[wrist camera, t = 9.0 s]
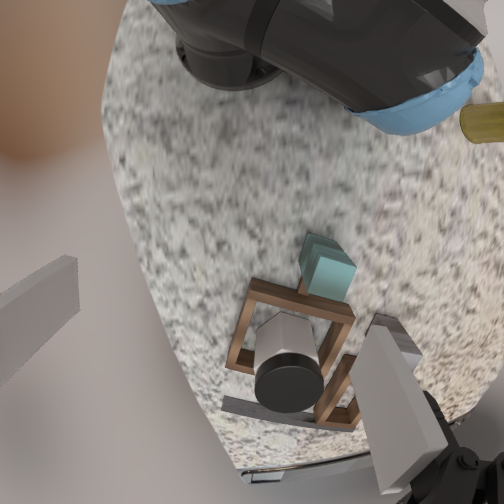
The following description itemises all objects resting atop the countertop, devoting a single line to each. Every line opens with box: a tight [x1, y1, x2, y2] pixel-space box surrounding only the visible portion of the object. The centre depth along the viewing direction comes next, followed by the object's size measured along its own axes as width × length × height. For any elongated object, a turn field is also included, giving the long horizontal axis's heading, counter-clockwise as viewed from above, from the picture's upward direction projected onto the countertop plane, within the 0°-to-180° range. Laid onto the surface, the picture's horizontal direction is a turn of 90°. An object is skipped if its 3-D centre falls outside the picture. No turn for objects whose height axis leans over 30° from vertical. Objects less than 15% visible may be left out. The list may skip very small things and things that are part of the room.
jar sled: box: [225, 233, 357, 379], centre depth 37 cm, size 21×14×10 cm
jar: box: [254, 312, 324, 413], centre depth 37 cm, size 9×8×12 cm
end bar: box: [221, 396, 356, 432], centre depth 47 cm, size 2×25×2 cm, turn 74°
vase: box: [460, 102, 504, 144], centre depth 25 cm, size 6×6×14 cm
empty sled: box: [313, 314, 423, 429], centre depth 39 cm, size 21×7×10 cm, turn 164°
